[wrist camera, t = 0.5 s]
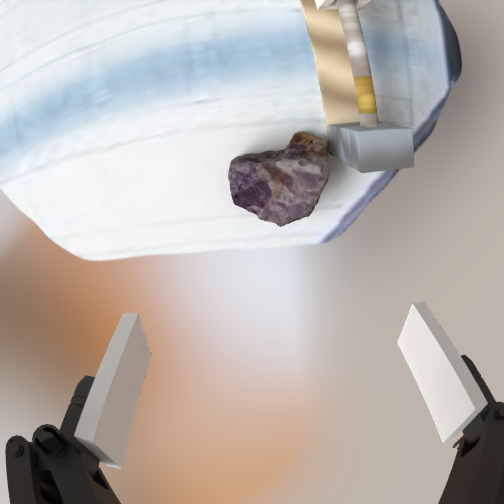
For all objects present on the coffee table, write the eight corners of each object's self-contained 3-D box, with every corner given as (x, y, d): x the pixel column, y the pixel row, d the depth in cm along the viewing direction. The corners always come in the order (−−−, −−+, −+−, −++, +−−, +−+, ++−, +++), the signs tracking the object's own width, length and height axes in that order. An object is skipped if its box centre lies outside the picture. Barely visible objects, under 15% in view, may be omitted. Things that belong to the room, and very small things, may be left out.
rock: (231, 143, 36) (249, 215, 40) (214, 154, 28) (238, 242, 33) (322, 127, 33) (334, 202, 37) (330, 132, 26) (344, 227, 30)
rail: (285, -46, 21) (298, -87, 12) (329, -46, 21) (353, -82, 11) (330, 154, 35) (362, 173, 25) (372, 149, 35) (413, 167, 25)
